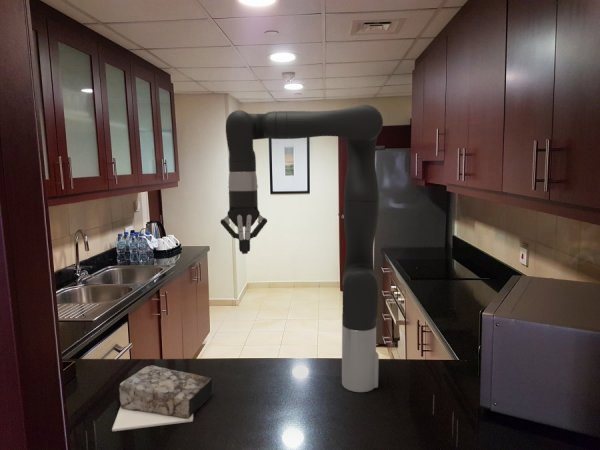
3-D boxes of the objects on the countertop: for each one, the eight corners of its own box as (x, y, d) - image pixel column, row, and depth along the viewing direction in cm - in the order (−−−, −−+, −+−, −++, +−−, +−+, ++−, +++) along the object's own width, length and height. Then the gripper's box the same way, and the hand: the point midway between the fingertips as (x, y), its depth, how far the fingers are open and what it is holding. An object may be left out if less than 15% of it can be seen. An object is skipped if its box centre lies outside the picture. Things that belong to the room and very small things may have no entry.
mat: (194, 397, 113) (194, 395, 113) (192, 421, 102) (192, 419, 102) (121, 405, 109) (121, 403, 109) (112, 431, 98) (112, 429, 98)
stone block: (189, 393, 101) (117, 380, 107) (187, 422, 101) (116, 408, 107) (214, 374, 114) (149, 363, 119) (213, 400, 114) (148, 388, 119)
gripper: (266, 188, 119) (267, 249, 121) (217, 188, 116) (219, 251, 118) (269, 189, 111) (270, 254, 114) (218, 190, 109) (220, 257, 111)
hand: (244, 253), depth 116 cm, fingers closed
